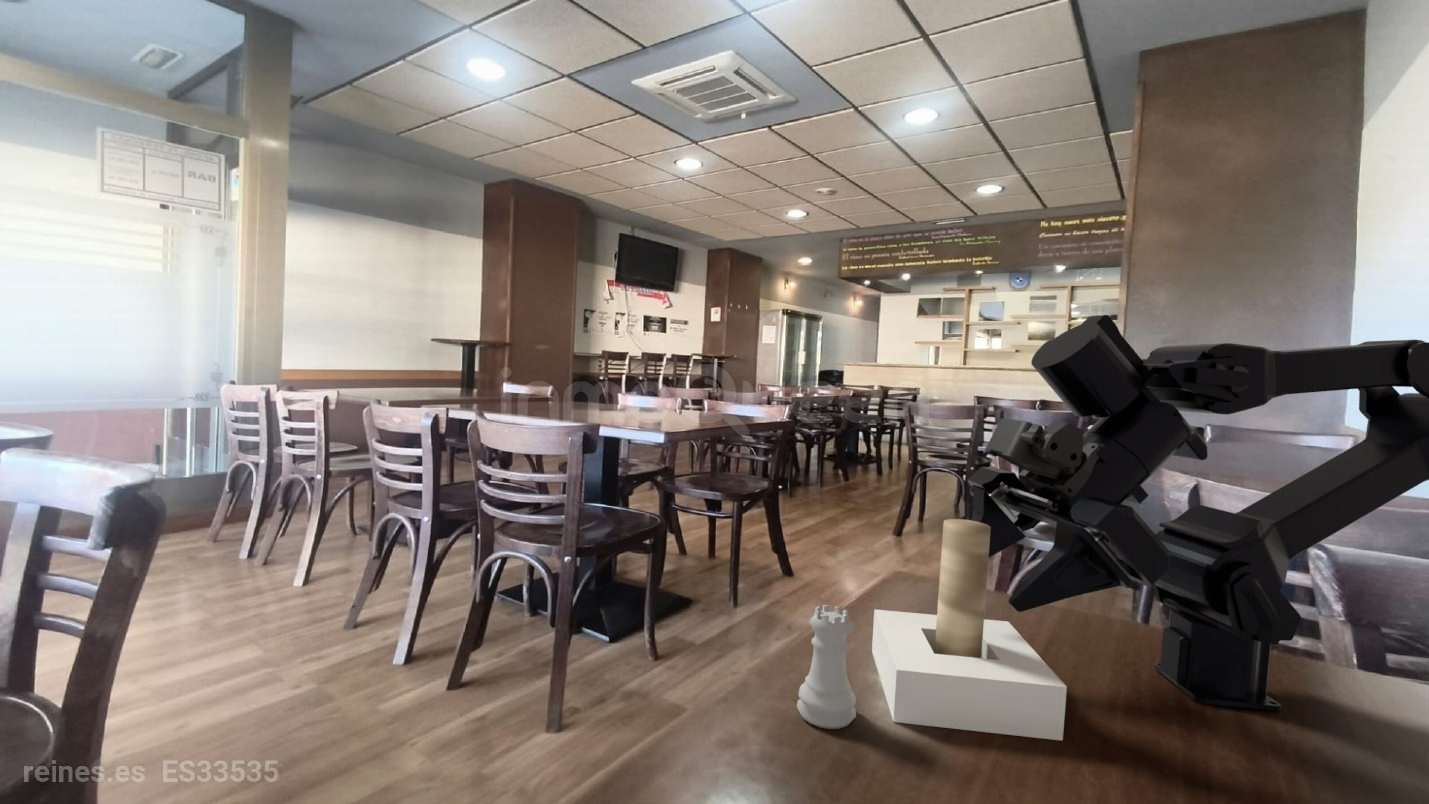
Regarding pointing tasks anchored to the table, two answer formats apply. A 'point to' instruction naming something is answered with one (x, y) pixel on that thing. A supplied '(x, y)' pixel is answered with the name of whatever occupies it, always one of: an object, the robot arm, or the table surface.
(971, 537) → the peg
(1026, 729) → the block
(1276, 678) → the table surface
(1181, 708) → the table surface
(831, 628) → the rook chess piece
